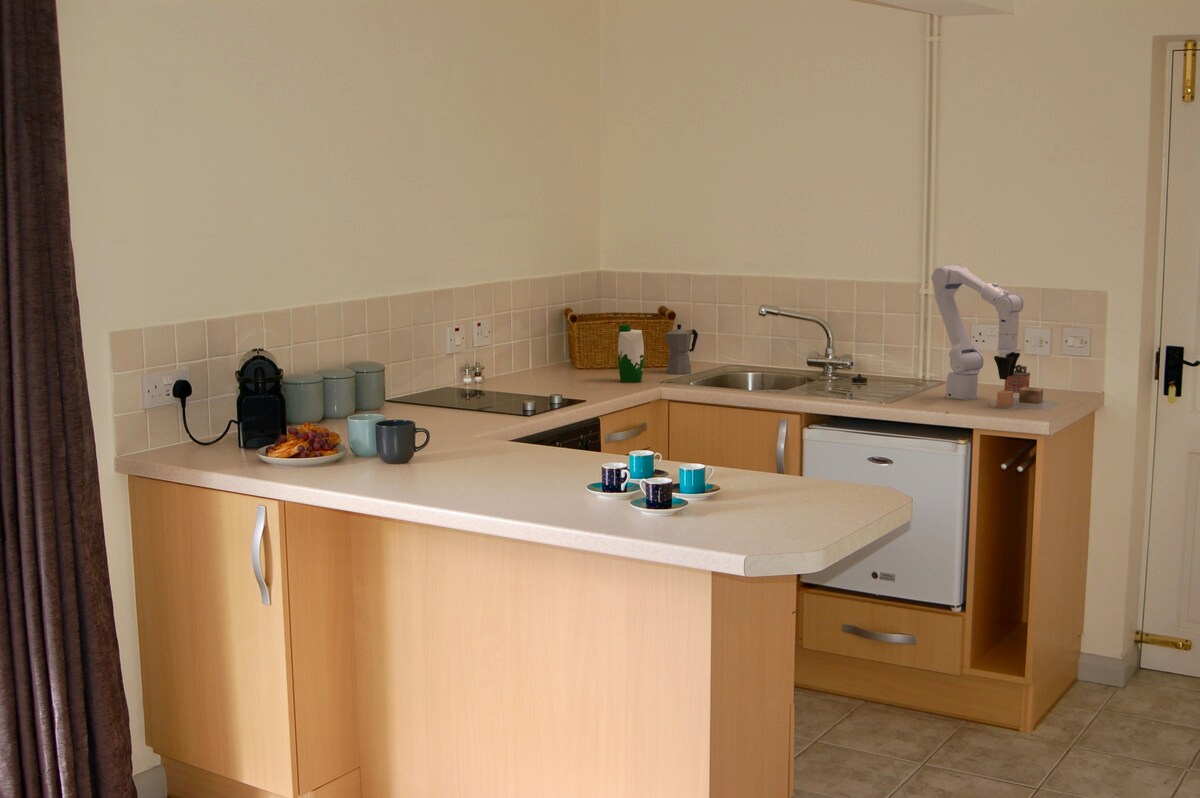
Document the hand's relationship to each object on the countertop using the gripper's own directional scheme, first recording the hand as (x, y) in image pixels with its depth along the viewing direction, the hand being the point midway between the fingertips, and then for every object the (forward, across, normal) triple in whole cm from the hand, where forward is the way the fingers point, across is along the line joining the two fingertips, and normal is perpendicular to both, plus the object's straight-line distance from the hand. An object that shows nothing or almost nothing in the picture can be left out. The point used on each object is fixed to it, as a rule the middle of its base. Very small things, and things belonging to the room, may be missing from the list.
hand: (1006, 377), depth 398 cm
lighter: (+10, +26, +2) cm, 28 cm away
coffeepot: (+10, +18, +121) cm, 123 cm away
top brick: (+8, 0, 0) cm, 9 cm away
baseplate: (+10, +5, -5) cm, 12 cm away
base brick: (+8, +9, -6) cm, 14 cm away
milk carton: (+10, -8, +128) cm, 129 cm away
